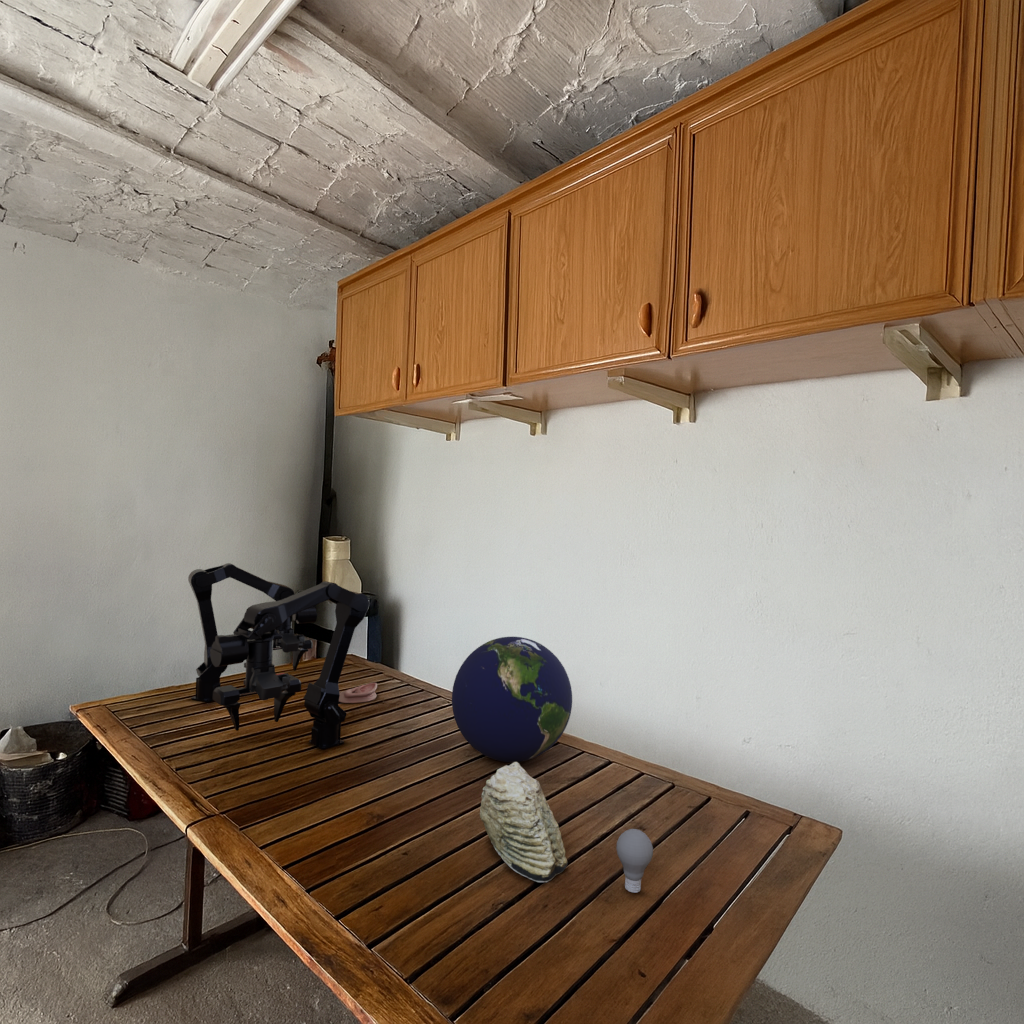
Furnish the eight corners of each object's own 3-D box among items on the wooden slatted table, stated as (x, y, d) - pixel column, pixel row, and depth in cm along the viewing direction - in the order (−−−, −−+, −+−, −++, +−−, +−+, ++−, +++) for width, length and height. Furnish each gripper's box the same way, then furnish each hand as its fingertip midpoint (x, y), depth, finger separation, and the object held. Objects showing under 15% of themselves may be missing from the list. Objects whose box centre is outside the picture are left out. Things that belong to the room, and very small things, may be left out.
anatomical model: (326, 688, 195) (343, 678, 206) (325, 700, 195) (343, 690, 206) (366, 692, 192) (381, 682, 203) (365, 705, 192) (381, 694, 203)
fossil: (501, 827, 124) (504, 751, 124) (575, 868, 111) (578, 784, 111) (467, 843, 118) (470, 763, 118) (541, 889, 105) (545, 799, 105)
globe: (497, 727, 179) (502, 621, 178) (591, 755, 161) (596, 638, 161) (424, 759, 155) (429, 637, 154) (524, 797, 137) (530, 659, 137)
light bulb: (610, 879, 108) (613, 822, 108) (644, 879, 109) (647, 822, 109) (619, 902, 102) (622, 840, 102) (655, 901, 103) (658, 840, 103)
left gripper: (263, 632, 192) (262, 683, 192) (321, 626, 205) (319, 673, 205) (249, 626, 200) (247, 675, 200) (305, 620, 213) (304, 666, 213)
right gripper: (231, 673, 136) (228, 746, 136) (313, 661, 149) (310, 727, 149) (212, 662, 144) (210, 731, 144) (291, 651, 157) (289, 714, 157)
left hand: (280, 672), depth 205 cm, fingers open, 9 cm apart
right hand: (257, 725), depth 148 cm, fingers open, 9 cm apart
